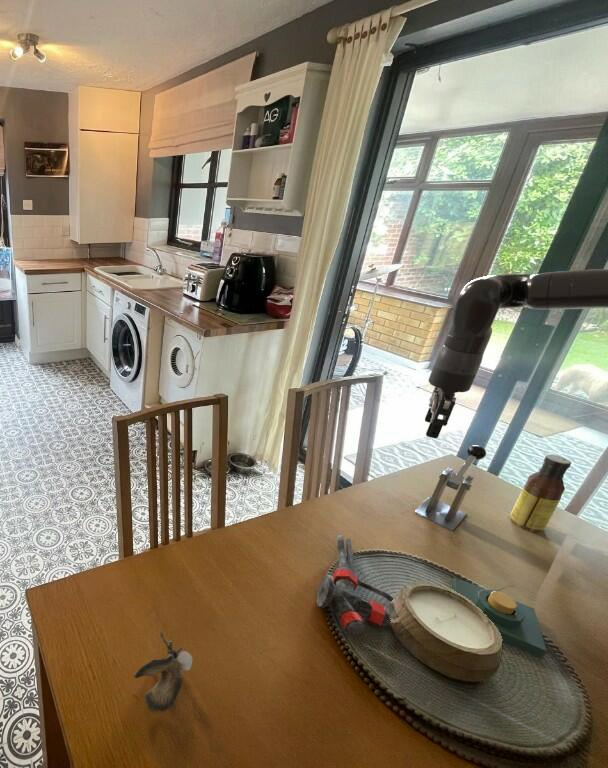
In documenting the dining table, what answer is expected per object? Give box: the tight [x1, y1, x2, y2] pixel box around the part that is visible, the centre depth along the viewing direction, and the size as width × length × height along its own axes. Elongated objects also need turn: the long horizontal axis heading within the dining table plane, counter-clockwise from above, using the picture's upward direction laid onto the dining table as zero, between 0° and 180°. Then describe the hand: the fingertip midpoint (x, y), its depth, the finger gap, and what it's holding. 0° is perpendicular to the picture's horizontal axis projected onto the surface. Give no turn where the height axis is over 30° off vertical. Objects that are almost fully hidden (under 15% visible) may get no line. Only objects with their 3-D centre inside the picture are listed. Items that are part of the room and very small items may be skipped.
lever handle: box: [446, 444, 487, 491], centre depth 101 cm, size 14×4×4 cm, turn 125°
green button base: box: [451, 577, 547, 659], centre depth 78 cm, size 12×10×4 cm
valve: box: [316, 534, 395, 635], centre depth 83 cm, size 6×26×15 cm
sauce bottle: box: [509, 454, 572, 534], centre depth 97 cm, size 7×6×20 cm
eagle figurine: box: [133, 631, 194, 712], centre depth 67 cm, size 8×7×9 cm
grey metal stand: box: [413, 467, 475, 532], centre depth 101 cm, size 10×8×13 cm
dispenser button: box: [488, 590, 517, 615], centre depth 77 cm, size 4×4×2 cm
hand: (430, 429), depth 99 cm, fingers open, 8 cm apart
